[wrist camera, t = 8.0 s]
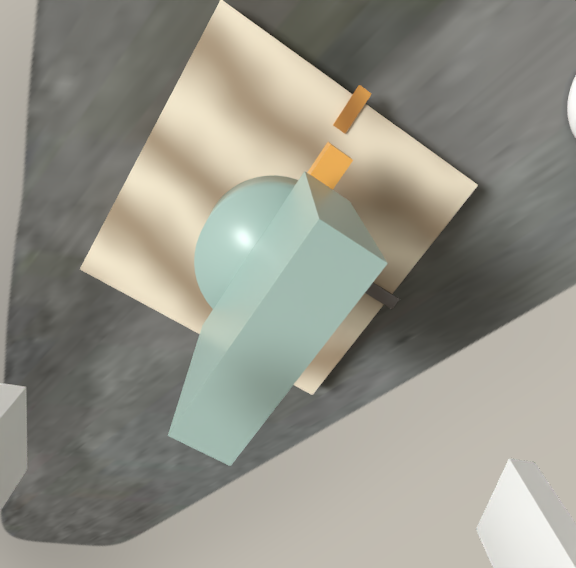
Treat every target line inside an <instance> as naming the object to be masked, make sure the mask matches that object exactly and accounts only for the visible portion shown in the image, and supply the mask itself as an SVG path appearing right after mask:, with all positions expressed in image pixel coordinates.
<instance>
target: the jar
mask: <svg viewBox="0 0 576 568" xmlns="http://www.w3.org/2000/svg"><path fill="white" fill-rule="evenodd" d="M567 113H568V121H569V125H570V128H571V130H572V133H573V134H574V136H575V138H576V76H575V78H574V80H573V83H572V85H571V88H570V92H569V96H568V105H567Z"/></svg>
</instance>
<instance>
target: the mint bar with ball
mask: <svg viewBox="0 0 576 568" xmlns="http://www.w3.org/2000/svg"><path fill="white" fill-rule="evenodd" d="M352 161H353V159H352V158H351V157H350V156H348V155H347V154H345V153H344V152H342V151H341V150H340V149H338V148H337V147H335V146H334V145H332V144H331V143H329V142H327V144H326V145H325V147H324V148H323V150H322V151H321V153H320V154H319V156H318V157H317V159H316V160H315V162H314V163H313V165H312V166H311V168H310V169H309V171H308V172H306V171H304V173H303V174H302V176H301V177H300V179H299V180H297V179H293V178H290V177H285V176H277V175H274V176H261V177H256V178H252V179H249V180H246V181H244V182H242V183H240V184H238V185H236V186H235V187H233V188H231V189H230V190H229V191H228V192H227V193H225V194H224V195H223V196H222V197H221V198H220V200H219V201H218V202H217V203H216V205H215V206H214V208H213V210H212V211H211V213H210V215H209V217H208V219H207V221H206V223H205V225H204V227H203V229H202V231H201V233H200V235H199V238H198V241H197V244H196V249H195V256H194V266H195V274H196V279H197V282H198V285H199V288H200V290H201V292H202V294H203V296H204V298H205V299H206V301H207V302H208V304H209V305H210V306H211V308H212V309H213V310H212V312H211V313H210V315H209V316H208V318H207V319H206V321H205V322H204V324H203V325H202V329H201V332H200V335H199V338H198V341H197V345H196V348H195V351H194V354H193V357H192V361H191V364H190V367H189V370H188V373H187V376H186V380H185V383H184V386H183V389H182V392H181V396H180V399H179V402H178V405H177V408H176V412H175V415H174V418H173V421H172V424H171V428H170V431H169V434H168V436H170V437H172V438H174V439H176V440H178V441H180V442H182V443H184V444H186V445H188V446H190V447H192V448H194V449H196V450H198V451H200V452H202V453H204V454H207V455H209V456H211V457H213V458H215V459H217V460H219V461H221V462H223V463H225V464H227V465H229V466H231V465H232V463H233V462H234V461H235V459H236V458H237V457H238V455H239V454H240V453H241V452H242V450H243V449H244V448H245V446H246V445H247V444H248V443H249V441H250V440H251V439H252V437H253V436H254V435H255V434H256V432H257V431H258V430H259V428H260V427H261V426H262V425H263V423H264V422H265V421H266V419H267V418H268V417H269V416H270V414H271V413H272V412H273V410H274V409H275V408H276V407H277V405H278V404H279V403H280V401H281V400H282V399H283V398H284V396H285V395H286V394H287V392H288V391H289V390H290V389H291V387H292V386H293V385H294V383H295V382H296V381H297V380H298V378H299V377H300V376H301V374H302V373H303V372H304V371H305V369H306V368H307V367H308V365H309V364H310V363H311V362H312V360H313V359H314V358H315V356H316V355H317V354H318V352H319V351H320V350H321V349H322V347H323V346H324V345H325V343H326V342H327V341H328V340H329V338H330V337H331V336H332V334H333V333H334V332H335V331H336V329H337V328H338V327H339V325H340V324H341V323H342V322H343V320H344V319H345V318H346V316H347V315H348V314H349V313H350V311H351V310H352V309H353V307H354V306H355V305H356V304H357V302H358V301H359V300H360V298H361V297H362V296H363V295H364V293H365V292H366V291H367V289H368V288H369V287H370V286H371V284H372V283H373V282H374V280H375V279H376V278H377V277H378V275H379V274H380V273H381V271H382V270H383V269H384V268H385V266H386V265H387V264H388V263H387V261H386V259H385V258H384V256H383V255H382V253H381V251H380V250H379V248H378V246H377V245H376V243H375V242H374V240H373V238H372V237H371V235H370V233H369V232H368V230H367V228H366V227H365V225H364V224H363V222H362V220H361V219H360V217H359V215H358V214H357V212H356V210H355V209H354V207H353V206H352V204H351V202H350V201H349V200H347V199H346V198H344V197H343V196H341V195H340V194H338V193H337V192H335V191H334V190H333V189H334V187H335V186H336V184H337V183H338V182H339V180H340V179H341V177H342V176H343V174H344V173H345V171H346V170H347V169H348V167H349V166H350V164H351V163H352Z"/></svg>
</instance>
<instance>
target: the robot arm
mask: <svg viewBox="0 0 576 568" xmlns="http://www.w3.org/2000/svg"><path fill="white" fill-rule="evenodd" d="M26 470H27V410H26V387H23V386H16V385H10V384H3V383H0V510H1V509H2V507H3V506H4V504H5V503H6V501H7V500H8V498H9V497H10V495H11V494H12V492H13V490H14V489H15V487H16V486H17V484H18V483H19V481H20V480H21V478H22V477H23V475H24V474H25V472H26ZM476 530H477V532H478V535H479V537H480V539H481V542H482V544H483V546H484V548H485V551H486V553H487V555H488V558H489V560H490V562H491V564H492V567H493V568H576V523H575V521H574V520H573V518H572V517H571V516H570V514H569V512H568V511H567V509H566V508H565V507H564V505H563V504H562V502H561V501H560V499H559V497H558V496H557V494H556V493H555V492H554V490H553V489H552V487H551V486H550V484H549V483H548V481H547V480H546V478H545V477H544V475H543V474H542V472H541V471H540V469H539V468H538V466H537V465H536V463H535V462H531V461H523V460H517V459H509V460H508V462H507V464H506V466H505V469H504V471H503V473H502V475H501V477H500V479H499V481H498V484H497V486H496V488H495V490H494V492H493V494H492V496H491V498H490V501H489V503H488V505H487V507H486V509H485V511H484V513H483V515H482V517H481V520H480V522H479V524H478V526H477V528H476Z"/></svg>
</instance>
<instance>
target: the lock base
mask: <svg viewBox="0 0 576 568" xmlns="http://www.w3.org/2000/svg"><path fill="white" fill-rule="evenodd" d="M370 96H371V93H370V92H368V91H367V90H366V89H364V88H363V87H362V86H360V85H359V86H358V87H357V89H356V90H355V92H354V93H353V94H351V93H350V92H349V91H347V90H346V89H344V88H343V87H342V86H340V85H339V84H337V83H336V82H335V81H333V80H332V79H331V78H329V77H328V76H326V75H325V74H324V73H322V72H321V71H319V70H318V69H317V68H315V67H314V66H313V65H311V64H310V63H308V62H307V61H306V60H304V59H303V58H301V57H300V56H299V55H297V54H296V53H295V52H293V51H292V50H290V49H289V48H288V47H286V46H285V45H283V44H282V43H281V42H279V41H278V40H277V39H275V38H274V37H272V36H271V35H270V34H268V33H267V32H265V31H264V30H263V29H261V28H260V27H259V26H257V25H256V24H254V23H253V22H252V21H250V20H249V19H247V18H246V17H245V16H243V15H242V14H241V13H239V12H238V11H236V10H235V9H234V8H232V7H231V6H229V5H228V4H227V3H225V2H224V1H223V0H220V2H219V4H218V6H217V8H216V10H215V12H214V14H213V16H212V17H211V19H210V21H209V23H208V25H207V27H206V29H205V31H204V33H203V35H202V37H201V38H200V40H199V42H198V44H197V46H196V48H195V50H194V52H193V54H192V56H191V58H190V60H189V61H188V63H187V65H186V67H185V69H184V71H183V73H182V75H181V77H180V79H179V81H178V82H177V84H176V86H175V88H174V90H173V92H172V94H171V96H170V98H169V100H168V102H167V103H166V105H165V107H164V109H163V111H162V113H161V115H160V117H159V119H158V121H157V123H156V125H155V126H154V128H153V130H152V132H151V134H150V136H149V138H148V140H147V142H146V144H145V146H144V147H143V149H142V151H141V153H140V155H139V157H138V159H137V161H136V163H135V165H134V167H133V168H132V170H131V172H130V174H129V176H128V178H127V180H126V182H125V184H124V186H123V188H122V189H121V191H120V193H119V195H118V197H117V199H116V201H115V203H114V205H113V207H112V209H111V211H110V212H109V214H108V216H107V218H106V220H105V222H104V224H103V226H102V228H101V230H100V232H99V233H98V235H97V237H96V239H95V241H94V243H93V245H92V247H91V249H90V251H89V253H88V254H87V256H86V258H85V260H84V262H83V264H82V266H81V268H80V270H82V271H84V272H86V273H88V274H90V275H92V276H93V277H95V278H97V279H99V280H101V281H103V282H104V283H106V284H108V285H110V286H112V287H114V288H116V289H117V290H119V291H121V292H123V293H125V294H127V295H128V296H130V297H132V298H134V299H136V300H138V301H140V302H141V303H143V304H145V305H147V306H149V307H151V308H152V309H154V310H156V311H158V312H160V313H162V314H164V315H165V316H167V317H169V318H171V319H173V320H175V321H177V322H178V323H180V324H182V325H184V326H186V327H188V328H189V329H191V330H193V331H195V332H197V333H199V334H200V332H201V329H202V325H203V324H204V322H205V321H206V319H207V318H208V316H209V315H210V313H211V312H212V310H213V309H212V308H211V306H210V305H209V304H208V302H207V301H206V299H205V298H204V296H203V294H202V292H201V290H200V288H199V285H198V282H197V279H196V274H195V266H194V256H195V249H196V244H197V241H198V238H199V235H200V233H201V231H202V229H203V227H204V225H205V223H206V221H207V219H208V217H209V215H210V213H211V211H212V210H213V208H214V206H215V205H216V203H217V202H218V201H219V200H220V198H221V197H222V196H223V195H224V194H225V193H227V192H228V191H229V190H230V189H231V188H233V187H235V186H236V185H238V184H240V183H242V182H244V181H246V180H249V179H252V178H256V177H261V176H274V175H277V176H285V177H290V178H293V179H297V180H299V179H300V177H301V176H302V174H303V173H304V171H306V172H308V171H309V169H310V168H311V166H312V165H313V163H314V162H315V160H316V159H317V157H318V156H319V154H320V153H321V151H322V150H323V148H324V147H325V145H326V144H327V142H329V143H331V144H332V145H334V146H335V147H337V148H338V149H340V150H341V151H342V152H344V153H345V154H347V155H348V156H350V157H351V158H352V159H353V161H352V163H351V164H350V166H349V167H348V169H347V170H346V171H345V173H344V174H343V176H342V177H341V179H340V180H339V182H338V183H337V184H336V186H335V187H334V189H333V190H334V191H335V192H337V193H338V194H340V195H341V196H343V197H344V198H346V199H347V200H349V201H350V202H351V204H352V206H353V207H354V209H355V210H356V212H357V214H358V215H359V217H360V219H361V220H362V222H363V224H364V225H365V227H366V228H367V230H368V232H369V233H370V235H371V237H372V238H373V240H374V242H375V243H376V245H377V246H378V248H379V250H380V251H381V253H382V255H383V256H384V258H385V259H386V261H387V263H388V264H387V265H386V266H385V268H384V269H383V270H382V271H381V273H380V274H379V275H378V277H377V278H376V279H375V280H374V282H373V283H372V284H371V286H370V287H369V288H368V289H367V291H366V292H365V293H364V295H363V296H362V297H361V298H360V300H359V301H358V302H357V304H356V305H355V306H354V307H353V309H352V310H351V311H350V313H349V314H348V315H347V316H346V318H345V319H344V320H343V322H342V323H341V324H340V325H339V327H338V328H337V329H336V331H335V332H334V333H333V334H332V336H331V337H330V338H329V340H328V341H327V342H326V343H325V345H324V346H323V347H322V349H321V350H320V351H319V352H318V354H317V355H316V356H315V358H314V359H313V360H312V362H311V363H310V364H309V365H308V367H307V368H306V369H305V371H304V372H303V373H302V374H301V376H300V377H299V378H298V380H297V381H296V382H295V383H294V385H295V386H297V387H298V388H300V389H302V390H304V391H306V392H308V393H310V394H311V395H313V393H314V392H315V391H316V390H317V388H318V387H319V386H320V385H321V383H322V382H323V381H324V380H325V378H326V377H327V376H328V374H329V373H330V372H331V371H332V369H333V368H334V367H335V366H336V364H337V363H338V362H339V361H340V359H341V358H342V357H343V356H344V354H345V353H346V352H347V350H348V349H349V348H350V347H351V345H352V344H353V343H354V342H355V340H356V339H357V338H358V337H359V335H360V334H361V333H362V331H363V330H364V329H365V328H366V326H367V325H368V324H369V323H370V321H371V320H372V319H373V318H374V316H375V315H376V314H377V312H378V311H379V310H380V309H381V307H382V306H383V305H385V306H387V307H389V308H390V309H393V307H394V306H395V305H396V304H397V302H398V301H399V300H400V299H399V298H398V297H396V296H394V295H393V294H392V293H393V292H394V291H395V290H396V288H397V287H398V286H399V285H400V283H401V282H402V281H403V280H404V278H405V277H406V276H407V274H408V273H409V272H410V271H411V269H412V268H413V267H414V266H415V264H416V263H417V262H418V261H419V259H420V258H421V257H422V256H423V254H424V253H425V252H426V250H427V249H428V248H429V247H430V245H431V244H432V243H433V242H434V240H435V239H436V238H437V237H438V235H439V234H440V233H441V231H442V230H443V229H444V228H445V226H446V225H447V224H448V223H449V221H450V220H451V219H452V218H453V216H454V215H455V214H456V212H457V211H458V210H459V209H460V207H461V206H462V205H463V204H464V202H465V201H466V200H467V199H468V197H469V196H470V195H471V193H472V192H473V191H474V190H475V188H476V187H477V186H478V185H477V184H476V183H475V182H473V181H472V180H470V179H469V178H468V177H466V176H465V175H463V174H462V173H461V172H459V171H458V170H457V169H455V168H454V167H452V166H451V165H450V164H448V163H447V162H445V161H444V160H443V159H441V158H440V157H439V156H437V155H436V154H434V153H433V152H432V151H430V150H429V149H427V148H426V147H425V146H423V145H422V144H421V143H419V142H418V141H416V140H415V139H414V138H412V137H411V136H409V135H408V134H407V133H405V132H404V131H403V130H401V129H400V128H398V127H397V126H396V125H394V124H393V123H391V122H390V121H389V120H387V119H386V118H385V117H383V116H382V115H380V114H379V113H378V112H376V111H375V110H373V109H372V108H371V107H369V106H368V105H367V104H365V103H366V102H367V100H368V99H369V97H370Z"/></svg>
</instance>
